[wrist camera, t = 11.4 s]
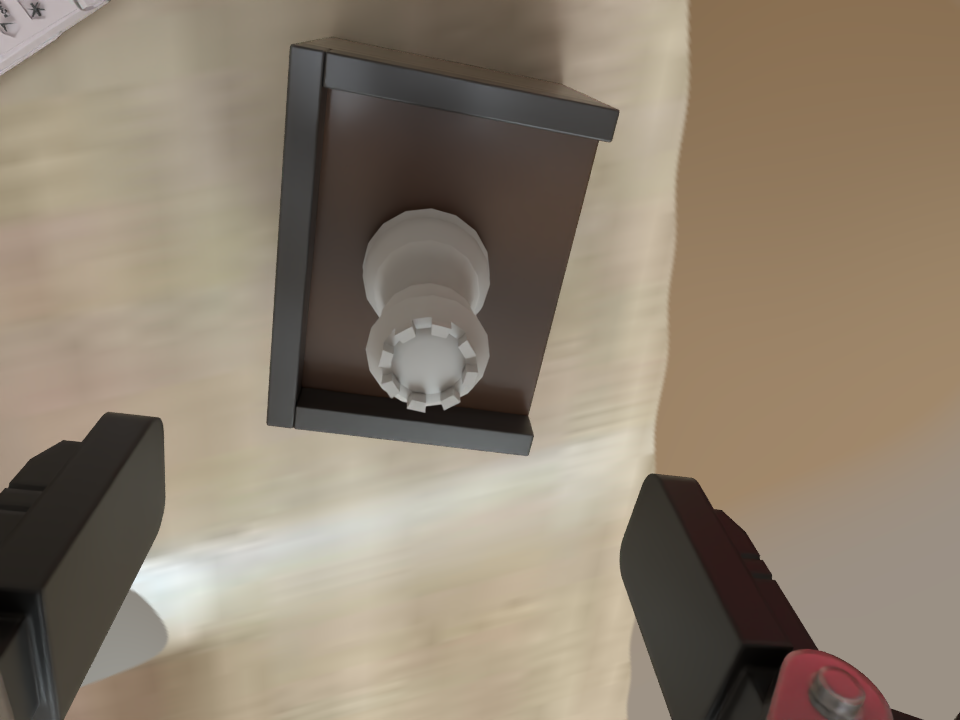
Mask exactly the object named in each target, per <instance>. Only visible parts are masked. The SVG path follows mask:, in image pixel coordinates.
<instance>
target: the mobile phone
mask: <svg viewBox="0 0 960 720" xmlns="http://www.w3.org/2000/svg"><path fill="white" fill-rule="evenodd" d="M109 1H110V0H0V76H1V75H2V74H4V73H5V72H7V71H8V70H10V69H11V68H13V67H14V66H16V65H18V64H19V63H21V62H22V61H24V60H25V59H27V58H28V57H30V56H31V55H33V54H34V53H36V52H37V51H39V50H40V49H42V48H43V47H45V46H46V45H48V44H50V43H51V42H53V41H54V40H56V39H57V38H58V37H59V36H60V35H61V34H62V33H63V32H64V31H66V30H67V29H69V28H70V27H72V26H73V25H75V24H76V23H78V22H79V21H81V20H82V19H84V18H86V17H87V16H89V15H90V14H92V13H93V12H95V11H96V10H98V9H99V8H101V7H102V6H104V5H105V4H107V3H108V2H109Z"/></svg>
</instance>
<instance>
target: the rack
mask: <svg viewBox="0 0 960 720" xmlns="http://www.w3.org/2000/svg"><path fill="white" fill-rule="evenodd" d="M618 116H619V110H618V109H616V108H614V107H611V106H609V105H607V104H605V103H603V102H600V101H598V100H596V99H594V98H592V97H589V96H587V95H585V94H583V93H581V92H578V91H576V90H574V89H572V88H570V87H567V86H565V85H563V84H559V83H554V82H549V81H544V80H539V79H534V78H529V77H524V76H520V75H515V74H510V73H505V72H500V71H495V70H490V69H485V68H480V67H476V66H471V65H466V64H461V63H456V62H451V61H446V60H441V59H436V58H432V57H427V56H422V55H417V54H412V53H407V52H402V51H397V50H392V49H388V48H383V47H378V46H373V45H368V44H363V43H358V42H353V41H348V40H344V39H339V38H334V37H329V38H323V39H317V40H312V41H306V42H301V43H296V44H291V46H290V54H289V70H288V87H287V103H286V119H285V135H284V151H283V167H282V183H281V199H280V215H279V231H278V247H277V263H276V279H275V295H274V311H273V327H272V343H271V359H270V375H269V391H268V407H267V425H268V426H277V427H285V428H293V427H294V428H295V429H300V430H309V431H318V432H326V433H335V434H343V435H352V436H360V437H369V438H377V439H386V440H394V441H403V442H412V443H420V444H429V445H437V446H446V447H454V448H463V449H471V450H480V451H489V452H497V453H506V454H514V455H523V456H528V455H529V452H530V448H531V445H532V441H533V437H534V435H533V431H532V427H531V424H530V420H529V416H528V415H529V411H530V407H531V403H532V399H533V395H534V391H535V388H536V384H537V380H538V376H539V372H540V368H541V364H542V360H543V356H544V353H545V349H546V345H547V341H548V337H549V333H550V329H551V325H552V321H553V318H554V314H555V310H556V306H557V302H558V298H559V294H560V290H561V286H562V283H563V279H564V275H565V271H566V267H567V263H568V259H569V255H570V251H571V248H572V244H573V240H574V236H575V232H576V228H577V224H578V220H579V216H580V213H581V209H582V205H583V201H584V197H585V193H586V189H587V185H588V181H589V178H590V174H591V170H592V166H593V162H594V158H595V154H596V150H597V146H598V143H599V141H604V142H611V141H612V139H613V135H614V131H615V127H616V124H617V120H618ZM430 208H432V209H435V210H439V211H442V212H446V213H449V214H453V215H456V216H457V217H459V218H460V219H461V220H462V221H464V222H465V223H466V224H468V225H469V226H470V227H471V228H473V229H474V230H475V231H476V232H477V234H478V236H479V238H480V240H481V241H482V243H483V245H484V247H485V249H486V250H487V252H488V263H489V274H490V277H489V279H490V286H489V289H488V292H487V295H486V298H485V301H484V304H483V307H482V308H481V310H480V311H479V312H478V313H477V314H476V316H477V318H478V320H479V321H480V323H481V325H482V326H483V328H484V330H485V332H486V333H487V335H488V345H489V356H490V357H489V360H488V363H487V366H486V368H485V371H484V374H483V377H482V378H481V379H480V380H479V381H478V383H477V384H476V385H475V386H474V387H473V389H471V390H470V391H469V393H468V394H466V395H464V396H462V397H460V401H461V402H460V403H458V404H456V405H454V406H452V407H450V408H448V409H446V410H444V409H443V406H442V404H440V405H432V406H426V409H425V413H424V412H420V411H415V410H411V409H407V402H402V401H400V400H399V399H397V398H396V397H393V398H392V399H391V397H390V396H389V395H388V393H387V392H386V391H385V390H383V389H382V388H381V386H380V385H379V383H378V382H377V380H376V379H375V378H374V376H373V375H372V373H371V372H370V370H369V364H368V359H367V354H366V346H367V342H368V338H369V334H370V331H371V327H372V326H373V325H374V324H375V322H376V321H377V320H378V319H379V316H378V315H377V313H376V312H375V310H374V309H373V307H372V306H371V304H370V303H369V301H368V300H367V297H366V292H365V286H364V281H363V267H362V266H363V262H364V258H365V254H366V250H367V246H368V243H369V241H370V240H371V239H372V238H373V236H374V235H375V234H376V232H377V231H378V230H379V228H380V227H381V226H382V225H383V224H384V223H385V222H387V221H389V220H391V219H393V218H394V217H396V216H398V215H400V214H402V213H403V212H405V211H412V210H421V209H430Z"/></svg>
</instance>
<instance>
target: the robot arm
mask: <svg viewBox="0 0 960 720" xmlns="http://www.w3.org/2000/svg"><path fill="white" fill-rule="evenodd" d="M164 506H165V463H164V430H163V423H162V420H161V419H160V418H158V417H150V416H141V415H132V414H123V413H114V412H107V413H105V414H104V415H103V416H102V417H101V418H100V420H99V421H98V422H97V423H96V425H95V426H94V427H93V428H92V430H91V431H90V432H89V434H88V435H87V436H86V437H85V439H84V440H83V441H82V442H75V441H66V440H63V441H61V442H59V443H58V444H56V445H54V446H52V447H51V448H49V449H47V450H45V451H44V452H42V453H40V454H38V455H37V456H35V457H33V458H32V459H30V460H29V461H28V462H27V464H26V465H25V466H24V467H23V468H22V469H21V470H20V472H19V473H18V474H17V475H16V476H15V477H14V478H13V480H12V481H11V482H10V483H9V487H8V488H5V489H4V490H3V491H2V492H1V493H0V720H64V718H65V716H66V714H67V712H68V710H69V708H70V706H71V704H72V702H73V700H74V698H75V696H76V694H77V692H78V690H79V688H80V686H81V684H82V682H83V680H84V678H85V676H86V674H87V672H88V670H89V668H90V666H91V664H92V662H93V661H94V658H95V657H96V654H97V653H98V651H99V649H100V647H101V645H102V643H103V641H104V639H105V636H106V635H107V633H108V631H109V629H110V627H111V625H112V623H113V621H114V619H115V617H116V615H117V613H118V611H119V609H120V607H121V605H122V603H123V601H124V599H125V597H126V595H127V593H128V591H129V589H130V587H131V585H132V584H133V582H134V580H135V578H136V576H137V574H138V572H139V570H140V568H141V566H142V564H143V562H144V560H145V558H146V556H147V554H148V552H149V550H150V548H151V546H152V544H153V542H154V540H155V538H156V536H157V534H158V531H159V528H160V525H161V521H162V517H163V513H164ZM620 571H621V576H622V579H623V582H624V585H625V588H626V591H627V594H628V596H629V599H630V602H631V605H632V608H633V611H634V614H635V616H636V619H637V622H638V625H639V628H640V630H641V633H642V636H643V639H644V642H645V645H646V648H647V651H648V653H649V656H650V659H651V662H652V665H653V668H654V671H655V673H656V676H657V679H658V682H659V685H660V687H661V690H662V693H663V696H664V699H665V702H666V705H667V708H668V710H669V713H670V716H671V719H672V720H922V719H919V718H917V717H914V716H911V715H908V714H904V713H902V712H899V711H896V710H893V709H891V708H890V707H889V705H888V703H887V701H886V699H885V698H884V696H883V695H882V693H881V692H880V691H879V690H878V688H877V687H876V686H875V685H874V684H873V683H872V682H871V681H870V680H869V679H868V678H867V677H866V676H865V675H864V674H863V673H861V672H860V671H859V670H857V669H856V668H854V667H853V666H852V665H850V664H849V663H847V662H845V661H844V660H842V659H840V658H838V657H836V656H834V655H831V654H828V653H826V652H823V651H819V650H818V648H817V647H816V646H815V644H814V642H813V640H812V639H811V637H810V636H809V634H808V632H807V631H806V629H805V627H804V626H803V624H802V623H801V621H800V619H799V618H798V616H797V614H796V613H795V611H794V610H793V608H792V606H791V605H790V603H789V602H788V600H787V598H786V597H785V595H784V594H783V592H782V590H781V589H780V587H779V586H778V584H777V582H776V581H775V580H772V574H771V572H770V571H769V569H768V568H767V566H766V564H765V563H764V561H763V560H760V555H759V553H758V551H757V550H756V548H755V547H754V545H753V543H752V542H751V540H750V539H749V537H748V535H747V534H746V532H745V531H744V530H743V529H742V528H741V527H740V526H738V525H737V524H736V523H735V522H734V521H733V520H732V519H731V518H730V517H729V516H727V515H726V514H725V513H724V512H723V511H722V510H716V509H713V507H712V505H711V504H710V502H709V501H708V498H707V497H706V495H705V493H704V492H703V490H702V488H701V486H700V485H699V483H698V482H697V481H696V480H695V479H693V478H687V477H678V476H669V475H661V474H650V475H648V476H647V477H646V479H645V480H644V482H643V485H642V487H641V490H640V493H639V496H638V498H637V501H636V504H635V507H634V509H633V512H632V515H631V518H630V521H629V523H628V526H627V529H626V532H625V534H624V537H623V540H622V544H621V549H620ZM954 720H960V713H959V714H958V715H957V717H956V718H955V719H954Z"/></svg>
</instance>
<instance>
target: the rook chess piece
mask: <svg viewBox="0 0 960 720" xmlns="http://www.w3.org/2000/svg"><path fill="white" fill-rule="evenodd" d="M362 267H363V281H364V286H365V292H366V297H367V300H368V301H369V303H370V304H371V306H372V307H373V309H374V310H375V312H376V313H377V315H378V316H379V319H378V320H377V321H376V322H375V324H374V325H373V326H372V327H371V331H370V334H369V338H368V342H367V346H366V354H367V359H368V364H369V370H370V372H371V373H372V375H373V376H374V378H375V379H376V380H377V382H378V383H379V385H380V386H381V388H382V389H383V390H385V391H386V392H387V393H388V395H389V396H390V397H391V399H392V398H393V397H396V398H397V399H399V400H400V401H402V402H407V409H411V410H415V411H420V412H424V413H425V409H426V406H432V405H440V404H442V406H443V409H444V410H446V409H448V408H450V407H452V406H454V405H456V404H458V403H460V402H461V401H460V397H462V396H464V395H466V394H468V393H469V391H470V390H471V389H473V387H474V386H475V385H476V384H477V383H478V381H479V380H480V379H481V378H482V377H483V374H484V371H485V368H486V366H487V363H488V360H489V357H490V356H489V345H488V335H487V333H486V332H485V330H484V328H483V326H482V325H481V323H480V321H479V320H478V318H477V316H476V314H477V313H478V312H479V311H480V310H481V308H482V307H483V304H484V301H485V298H486V295H487V292H488V289H489V286H490V279H489V277H490V274H489V263H488V252H487V250H486V249H485V247H484V245H483V243H482V241H481V240H480V238H479V236H478V234H477V232H476V231H475V230H474V229H473V228H471V227H470V226H469V225H468V224H466V223H465V222H464V221H462V220H461V219H460V218H459V217H457V216H456V215H453V214H449V213H446V212H442V211H439V210H435V209H432V208H430V209H421V210H412V211H405V212H403V213H402V214H400V215H398V216H396V217H394V218H393V219H391V220H389V221H387V222H385V223H384V224H383V225H382V226H381V227H380V228H379V230H378V231H377V232H376V234H375V235H374V236H373V238H372V239H371V240H370V241H369V243H368V246H367V250H366V254H365V258H364V262H363V266H362Z"/></svg>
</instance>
